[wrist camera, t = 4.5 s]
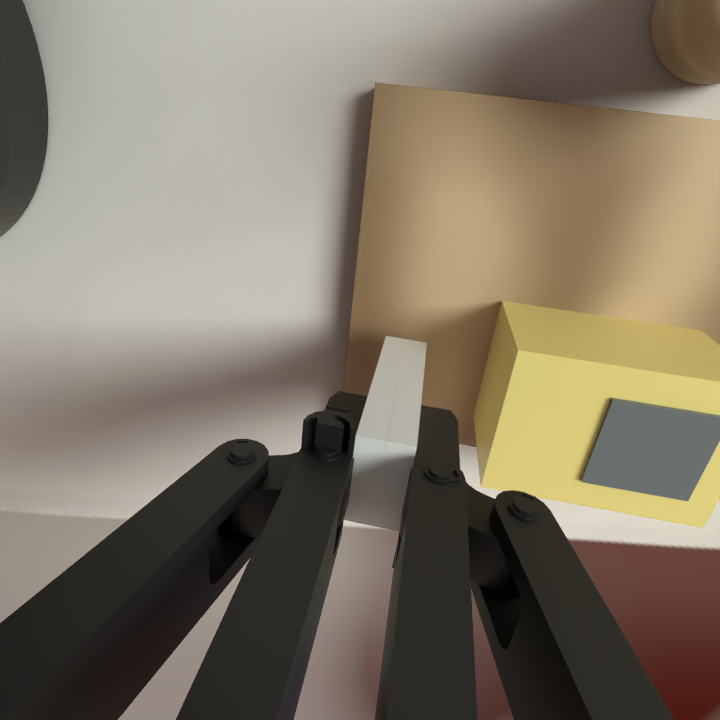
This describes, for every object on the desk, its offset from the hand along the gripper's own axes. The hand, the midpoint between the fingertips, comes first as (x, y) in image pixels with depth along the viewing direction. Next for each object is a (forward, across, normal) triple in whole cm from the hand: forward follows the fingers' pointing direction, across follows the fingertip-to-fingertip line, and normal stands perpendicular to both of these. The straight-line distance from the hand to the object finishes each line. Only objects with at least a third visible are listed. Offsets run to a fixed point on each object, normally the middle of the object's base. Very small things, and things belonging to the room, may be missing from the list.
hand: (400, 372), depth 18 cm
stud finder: (+2, +7, 0) cm, 7 cm away
